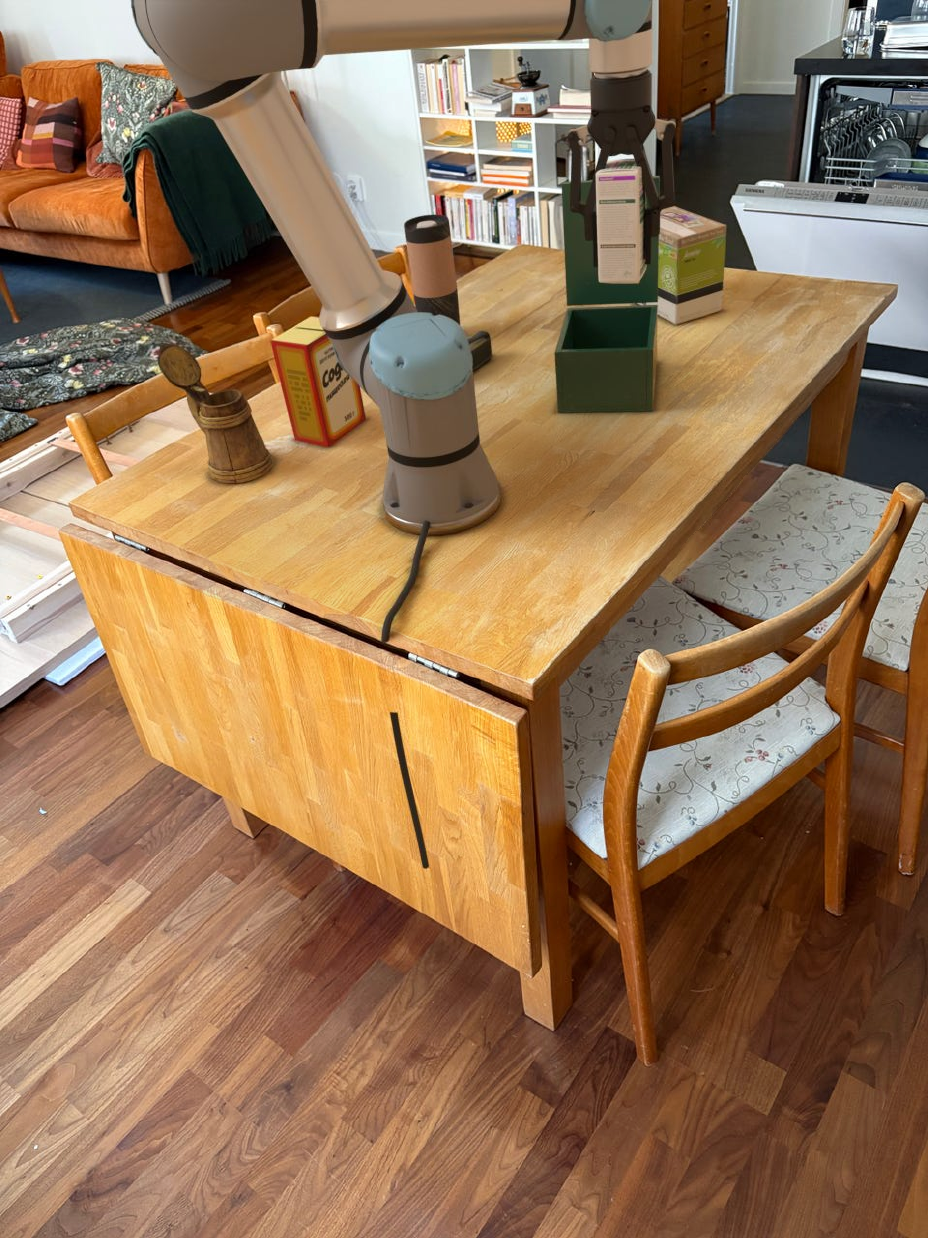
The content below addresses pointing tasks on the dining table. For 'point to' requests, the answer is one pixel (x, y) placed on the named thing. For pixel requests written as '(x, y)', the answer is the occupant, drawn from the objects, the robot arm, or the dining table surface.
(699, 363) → the dining table surface
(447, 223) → the travel mug
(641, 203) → the syrup box
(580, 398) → the tin
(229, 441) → the wooden mug
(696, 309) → the tea box
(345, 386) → the baking soda box
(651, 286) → the lid
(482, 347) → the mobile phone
